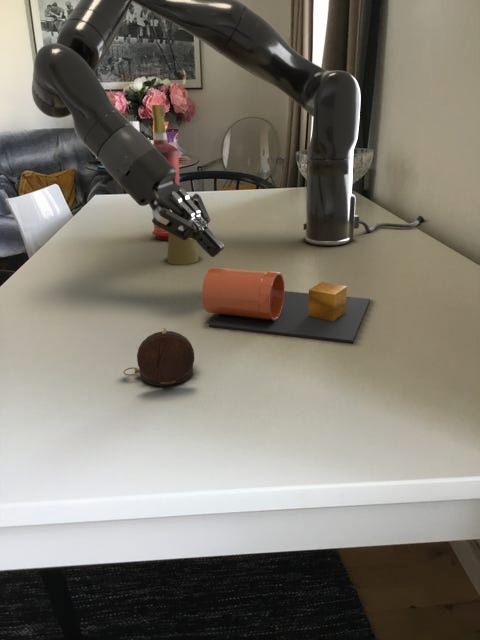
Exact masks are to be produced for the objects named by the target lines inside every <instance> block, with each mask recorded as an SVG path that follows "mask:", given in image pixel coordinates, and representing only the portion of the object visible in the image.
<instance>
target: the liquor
mask: <svg viewBox="0 0 480 640" xmlns="http://www.w3.org/2000/svg"><path fill="white" fill-rule="evenodd" d="M150 106H151V115H152V120H153V143H152V144H153V145H154V146H155V147H156V148H157V149H158V151H159V152H160V153H161V154H162V155H163V156H164V157H165V158H166V159H167V160H168V161H169V162H170V163H171V164H172V165H173V167H174V168H175V169H176V171H177V174H176V177H175V183H176V184H178V185H179V186H180V153H179V152H180V150H179V149H178V148H177V147H176V146H175V145H173V144H170V143H169V140H168V136H167V135H168V134H167V130H166V129H167V128H166V122H165V115H166V110H165V109H166V108H165V104H151V105H150ZM151 212H152V219H153V218H154V217H155V211H154V210H153V209H152V208H151ZM152 235H154V236H155V237H156V238H157V239H159V240H161V241H169V232H168V231H166V230H164V229H162V228H160V227H158V226H156V225H155V224H154V223H153V231H152Z"/></svg>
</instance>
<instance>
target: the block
mask: <svg viewBox="0 0 480 640" xmlns="http://www.w3.org/2000/svg"><path fill="white" fill-rule="evenodd" d="M347 290H348V285H342V284H336V283H331V282H326V281H325V282H324V281H321V282H319V283H318V284H316V285H314V286H313V287H311V288H309V289H308V293H309V306H308V316H311V317H316V318H321V319H325V320H330V321H335V320H336V319H337V318H339V317H340V316H341V315H343V314H344V313H345V312H346V297H347V292H348V291H347Z"/></svg>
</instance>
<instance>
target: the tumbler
mask: <svg viewBox="0 0 480 640" xmlns="http://www.w3.org/2000/svg"><path fill="white" fill-rule="evenodd" d="M285 288H286V287H285V280H284V275H283V274H282V272H280V271H267V270H266V271H264V270H251V269H239V268H228V267H216V266H215V267H214V266H213V267H210V268H209V269H208V270H207V272H206V274H205V276H204V279H203V283H202V288H201V298H202V299H201V301H202V305H203V308H204V310H205V312H206V313H208V314H212V315H219V314H220V315H229V316H238V317H247V318H256V319H264V320H269V321H276V320H277V319H278V318H279V316H280V314H281V311H282V308H283V302H284V292H285V291H286V289H285Z"/></svg>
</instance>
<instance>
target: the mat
mask: <svg viewBox="0 0 480 640" xmlns="http://www.w3.org/2000/svg"><path fill="white" fill-rule="evenodd" d="M370 302H371V299H370V298H364V297H354V296H346V312H345V313H344V314H343V315H341V316H340V317H339V318H337V319H336V320H335V321H330V320H325V319H321V318H316V317H311V316H308V306H309V292H298V291H286V290H285V292H284V302H283V308H282V311H281V314H280V316H279V318H278V319H277V320H276V321H269V320H264V319H256V318H247V317H238V316H229V315H220V314H217V316H216V317H215V318H214V319H213V320H211V322H210V323H208V326H209V327H210V328H218V329H224V330H225V329H227V330H236V331H242V332H243V331H244V332H253V333H260V334H261V333H262V334H268V335H277V336H278V335H280V336H287V337H295V338H305V339H312V340H313V339H314V340H320V341H321V340H322V341H329V342H330V341H331V342H340V343H347V344H353V343H354V341H355V339H356V336H357V334H358V331H359V329H360V326H361V325H362V321H363V320H364V317H365V314H366V312H367V309H368V307H369V304H370Z"/></svg>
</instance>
